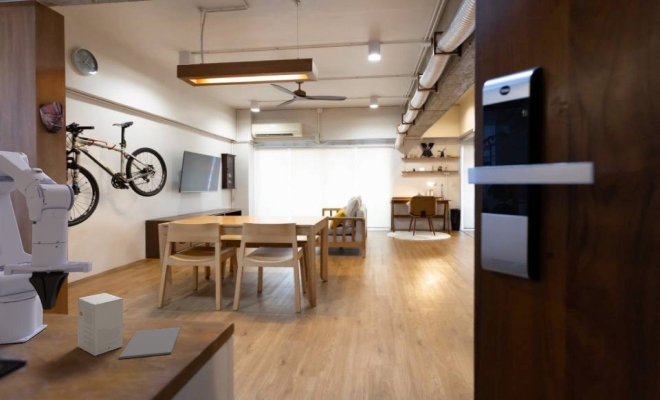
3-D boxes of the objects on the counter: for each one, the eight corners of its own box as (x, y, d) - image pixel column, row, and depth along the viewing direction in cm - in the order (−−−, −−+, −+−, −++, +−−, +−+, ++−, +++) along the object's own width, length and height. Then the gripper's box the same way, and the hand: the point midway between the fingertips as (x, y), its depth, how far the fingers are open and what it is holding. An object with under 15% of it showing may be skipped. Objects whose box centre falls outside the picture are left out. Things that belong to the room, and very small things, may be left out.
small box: (123, 347, 74) (124, 298, 74) (94, 356, 70) (94, 304, 70) (105, 338, 79) (106, 292, 79) (76, 346, 74) (77, 297, 74)
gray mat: (137, 332, 82) (137, 330, 82) (180, 328, 85) (180, 327, 85) (119, 358, 69) (119, 356, 69) (171, 353, 72) (171, 351, 72)
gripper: (-6, 245, 66) (-7, 317, 66) (82, 244, 70) (81, 311, 70) (16, 241, 72) (15, 306, 72) (96, 240, 76) (95, 301, 76)
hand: (49, 308), depth 72 cm, fingers closed
